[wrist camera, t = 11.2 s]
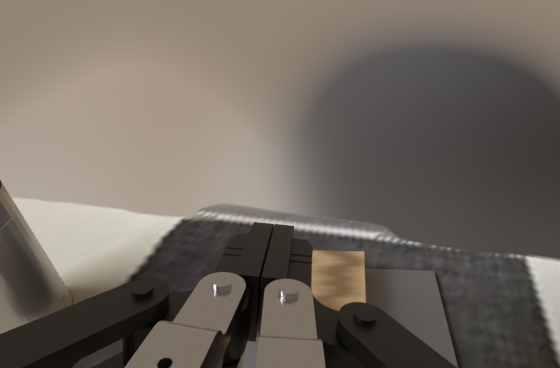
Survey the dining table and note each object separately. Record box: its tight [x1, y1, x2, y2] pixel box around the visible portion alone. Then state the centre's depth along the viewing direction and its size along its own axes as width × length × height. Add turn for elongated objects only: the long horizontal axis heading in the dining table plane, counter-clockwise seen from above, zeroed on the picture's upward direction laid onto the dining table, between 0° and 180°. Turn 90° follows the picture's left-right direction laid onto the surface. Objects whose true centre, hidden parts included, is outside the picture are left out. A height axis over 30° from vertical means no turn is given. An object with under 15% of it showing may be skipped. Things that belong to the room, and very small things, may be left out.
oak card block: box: [311, 250, 366, 311], centre depth 37 cm, size 6×3×14 cm
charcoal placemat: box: [241, 268, 458, 368], centre depth 36 cm, size 22×20×1 cm
